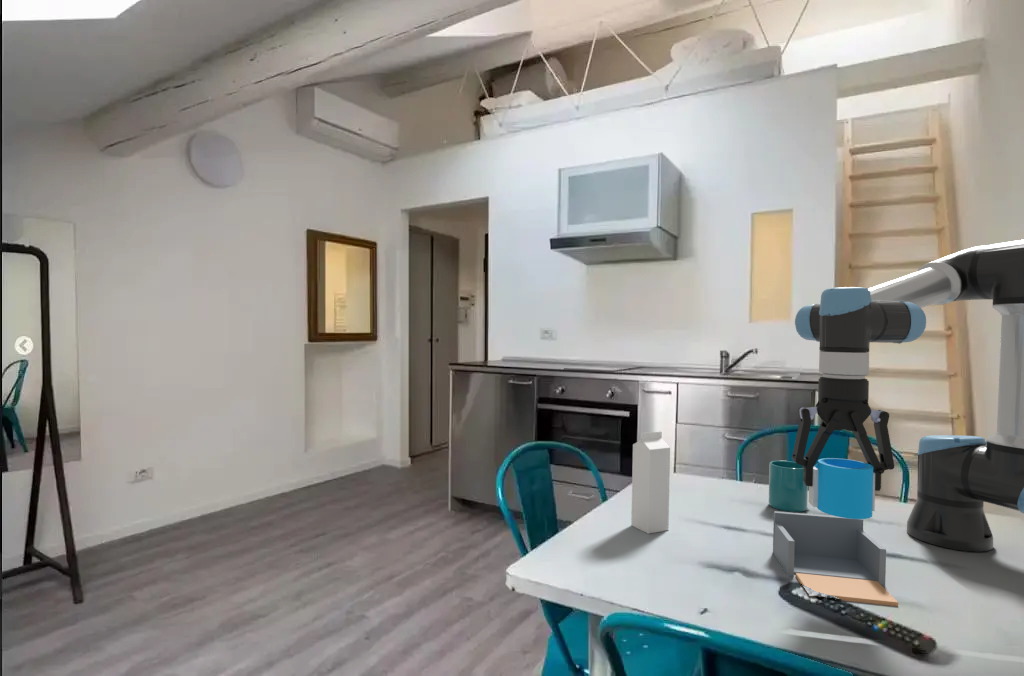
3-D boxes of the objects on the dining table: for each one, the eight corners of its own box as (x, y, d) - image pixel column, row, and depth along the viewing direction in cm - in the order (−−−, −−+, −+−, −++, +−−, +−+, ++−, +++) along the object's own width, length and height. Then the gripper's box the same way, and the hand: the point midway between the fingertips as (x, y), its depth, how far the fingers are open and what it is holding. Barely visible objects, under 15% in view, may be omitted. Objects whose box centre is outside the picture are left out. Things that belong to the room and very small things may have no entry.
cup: (823, 509, 143) (824, 466, 143) (788, 514, 139) (789, 469, 139) (794, 499, 152) (795, 458, 151) (760, 503, 147) (761, 461, 147)
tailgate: (877, 581, 99) (898, 602, 91) (876, 587, 99) (898, 609, 91) (795, 572, 102) (809, 592, 94) (795, 579, 102) (809, 599, 94)
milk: (631, 525, 129) (632, 430, 129) (651, 522, 132) (652, 429, 131) (648, 534, 123) (649, 435, 123) (669, 530, 126) (670, 433, 126)
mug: (884, 517, 92) (885, 468, 92) (841, 520, 90) (842, 470, 90) (831, 496, 104) (831, 452, 104) (791, 498, 102) (792, 454, 102)
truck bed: (860, 563, 109) (861, 518, 109) (885, 588, 99) (886, 538, 99) (772, 555, 113) (773, 511, 113) (787, 578, 102) (788, 529, 102)
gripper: (901, 376, 98) (898, 504, 98) (773, 373, 103) (771, 495, 103) (922, 380, 91) (919, 518, 91) (783, 376, 95) (781, 508, 96)
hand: (840, 506), depth 97 cm, fingers closed on mug, 8 cm apart
